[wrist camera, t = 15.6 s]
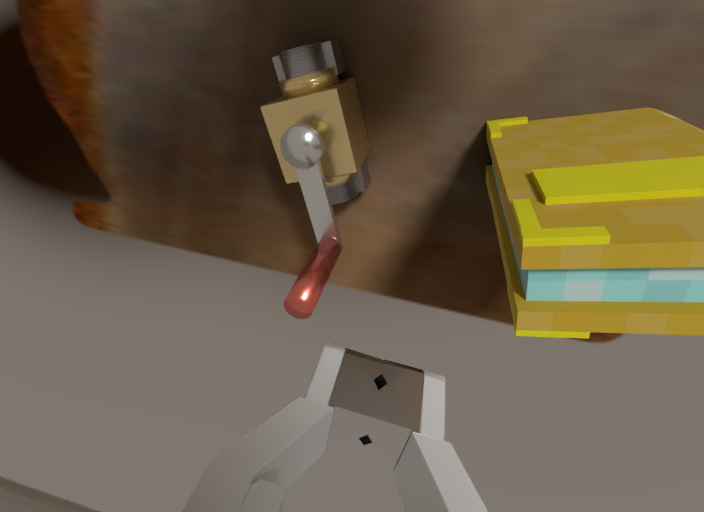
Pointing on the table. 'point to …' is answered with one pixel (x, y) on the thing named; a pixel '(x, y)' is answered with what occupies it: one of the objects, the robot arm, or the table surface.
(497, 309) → the table surface
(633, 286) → the book
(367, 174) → the valve body
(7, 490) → the robot arm
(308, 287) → the lever
